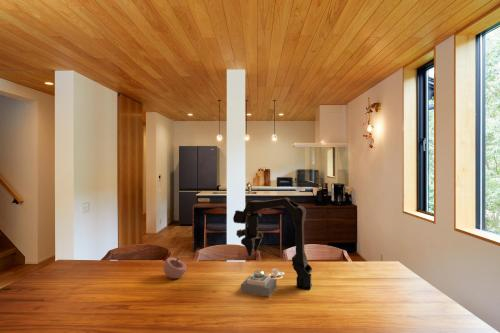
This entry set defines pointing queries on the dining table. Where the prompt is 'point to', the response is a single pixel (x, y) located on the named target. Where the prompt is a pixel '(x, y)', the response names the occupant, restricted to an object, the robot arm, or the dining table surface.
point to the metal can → (259, 275)
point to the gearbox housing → (259, 286)
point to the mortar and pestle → (174, 267)
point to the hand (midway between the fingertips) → (252, 253)
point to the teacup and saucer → (275, 273)
